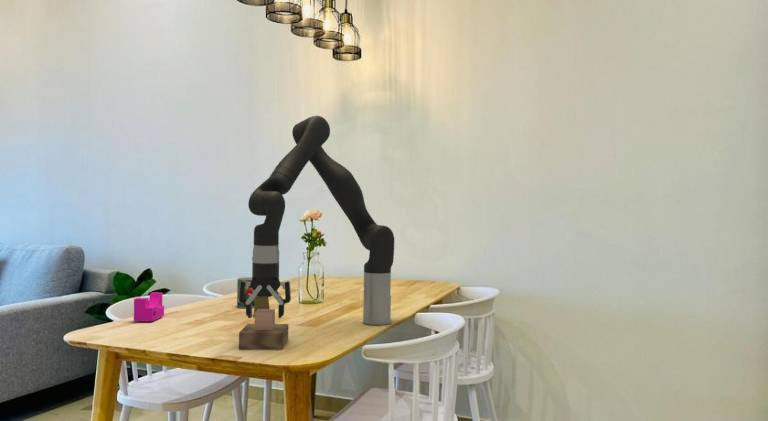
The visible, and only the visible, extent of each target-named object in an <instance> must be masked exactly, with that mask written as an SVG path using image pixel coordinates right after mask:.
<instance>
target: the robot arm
mask: <svg viewBox="0 0 768 421" xmlns="http://www.w3.org/2000/svg"><path fill="white" fill-rule="evenodd" d="M291 132H292V138H293V141H294V143H295V144H296V145H295V146H294V147H293V148H292V149H291V150H289V152H288V153H287V154H286V155H284V157H283V158H282V159H281V160H280V161H278V164H277V165H276V166H275V168H274V169H273V171H272V173H271V174H270V176H269V177H268V178H267V179H265V180H264V181H263V182H262V183H261V184H260V185H258V186H257V188H256V189H254V191H253V192H252V193H251V194H250V197H249V199H248V210H249V211H250V213H251V214H253V215H255V216H258V217H260V216H262V217H263V216H264V217H265V219H264V221H263V223H260V224H257V225H255V226H254V228H253V249H252V257H251V263H252V265H251V266H252V268H251V269H252V271H251V272H252V274H251V278H252V281H251V282H246V281H242V282H241V284H240V297H239V302H241V303H245V304H246V308H245V316H246V317H248V319H252V317H253V308H252V304H251V302H252V301H253V299H254V298H255V297H256V296H257V295H258V296H259V297H263V296H266V297H268V298H271V297H273V298H274V299H275V300H276V302H277V303H278V312H277V316H278V317H277V318H278V319H282V317H283V316H284V314H285V304H288V303H289V304H290V302H291V300H292V297H291V292H292V291H291V281H290V280H287V281H280V249H279V248H280V247H279V245H280V241H279V239H280V237H279V236H280V227H281V225H282V222H283V218H284V215H285V214H284V213H285V211H286V200H285V198H284V195H286V194H287V193H288V192H290V190H291V189H292V187H293V186H294V183H295V182H297V179H298V177H299V176H300V174H301V173H302V171H303V170H304V168H305V167H306V165H307V164H308V162H310V164H311V166H313V167H314V169H315V170H316V172H317V174H318V175H319V176H320V178H321V180H322V181H323V182H324V184H325V185H326V187H327V188H328V191H329V192H330V193H331V195H332V197H333V198H334V200H335V201H336V203H337V204H338V206H339V207H340V209H341V210H342V212H343V213H344V215H345V216H346V218H347V219H348V220H349V222H350V223H351V226H352V228H353V229H354V231H355V233H356V235H357V238H358V239H359V241H360V243H361V244H362V246H363V248H365V250H368V251H369V255H368V260H367V262H365V263H364V265H363V301H362V302H363V304H362V306H363V307H362V310H363V311H362V313H363V314H362V323H364V324H366V325H370V326H373V325H375V326H376V325H377V326H382V325H383V326H384V325H391V314H392V312H391V310H392V309H391V308H392V307H391V306H392V304H391V302H392V296H391V290H392V288H391V286H392V285H391V283H392V282H391V281H392V280H391V277H392V275H391V274H392V267H393V264H394V260H395V259H394V256H395V236H394V232H393V230H392V229H391V228H390V227H389V226H387V225H382V224H377V222H376V221H375V220H374V219H373V217H372V216H371V214H370V212H369V211H368V209H367V207H366V204H365V203H366V202H365V199H364V198H365V197H364V192H363V191H362V188H361V186H360V185H359V183H358V181H357V180H356V179H355V177H354V175H353V174H352V172H351V171H350V170H349V169H347V167H345V166H344V165H342V164H340V163H339V162H338V161H336V160H334V159H333V158H332V157H330V156H329V154H327V152H326V151H325V149H324V148H323V145H324V144H325V143H326V142H327V140H328V139H329V137H330V134H331V127H330V124H329V123H328V121H327V120H326V119H325V117H323V116H321V115H312V116H310V117H308V118H306V119H303V120H302V121H300V122H298V123H296V124H295V125H294V126H293V128H292V131H291ZM249 286H251V287H252V289H253V290H254V292H253V293H252V294H251V296H250V297H249V298H248V299H246V298H245V296H246V289H247V288H248V287H249ZM280 287H282V289H283V290H284V295H285V298H283V297H282V295H281V294H280V292H279V291H278V290H279V288H280Z"/></svg>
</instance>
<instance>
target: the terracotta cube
mask: <svg viewBox="0 0 768 421" xmlns="http://www.w3.org/2000/svg"><path fill="white" fill-rule="evenodd" d="M254 324H255V330H273V329H274V327H275V324H276V309H275V308H273V309H272V308H270V309H257V310H256V312H255V317H254Z"/></svg>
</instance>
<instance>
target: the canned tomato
mask: <svg viewBox="0 0 768 421" xmlns="http://www.w3.org/2000/svg"><path fill="white" fill-rule="evenodd" d="M236 280H237V284H236V285H237V290H236V292H237V294H236V295H237V297H236V307H237V308H240V309H246V304H245V303H241V302H239V297H240V284H241V282H242V281H246V282H251V281H252V276H251V277H238V278H236ZM253 292H254V290H253V289H252V287H251V286H249V287H248V288H247V289H246V296H245V298H246V299H248V298H249V297H250V296H251V294H252V293H253ZM255 301H256V297H255V298H254V299H253V301H252V302H251V304H252V309H254V308H255Z"/></svg>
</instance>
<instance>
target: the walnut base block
mask: <svg viewBox="0 0 768 421" xmlns="http://www.w3.org/2000/svg"><path fill="white" fill-rule="evenodd" d="M288 341H289V323H275V327H274V329H273V330H255V323H247V324H246V325H245V326H244V327H243V328H242V329H241V330H240V331H239V333H238V350H239V351H240V350H241V351H242V350H243V351H244V350H245V351H246V350H247V351H249V350H252V351H254V350H255V351H257V350H258V351H259V350H260V351H263V350H265V351H273V350H274V351H282V350H284V349H285V347H286V344H287V343H288Z"/></svg>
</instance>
